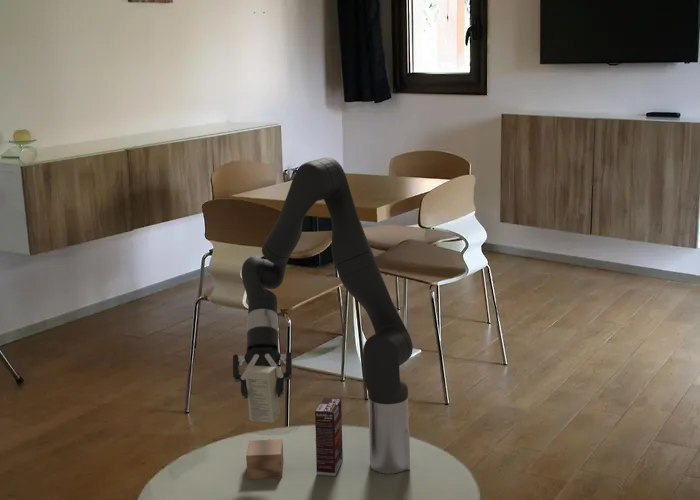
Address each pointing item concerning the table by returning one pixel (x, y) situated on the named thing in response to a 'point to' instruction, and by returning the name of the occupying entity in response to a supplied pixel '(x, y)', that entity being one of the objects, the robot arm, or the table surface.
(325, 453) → the supplement box
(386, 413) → the robot arm
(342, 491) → the table surface
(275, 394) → the skincare box
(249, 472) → the brown wooden block
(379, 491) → the table surface
